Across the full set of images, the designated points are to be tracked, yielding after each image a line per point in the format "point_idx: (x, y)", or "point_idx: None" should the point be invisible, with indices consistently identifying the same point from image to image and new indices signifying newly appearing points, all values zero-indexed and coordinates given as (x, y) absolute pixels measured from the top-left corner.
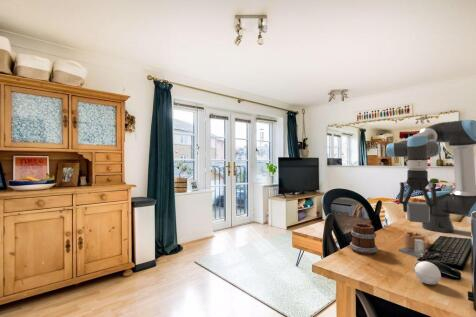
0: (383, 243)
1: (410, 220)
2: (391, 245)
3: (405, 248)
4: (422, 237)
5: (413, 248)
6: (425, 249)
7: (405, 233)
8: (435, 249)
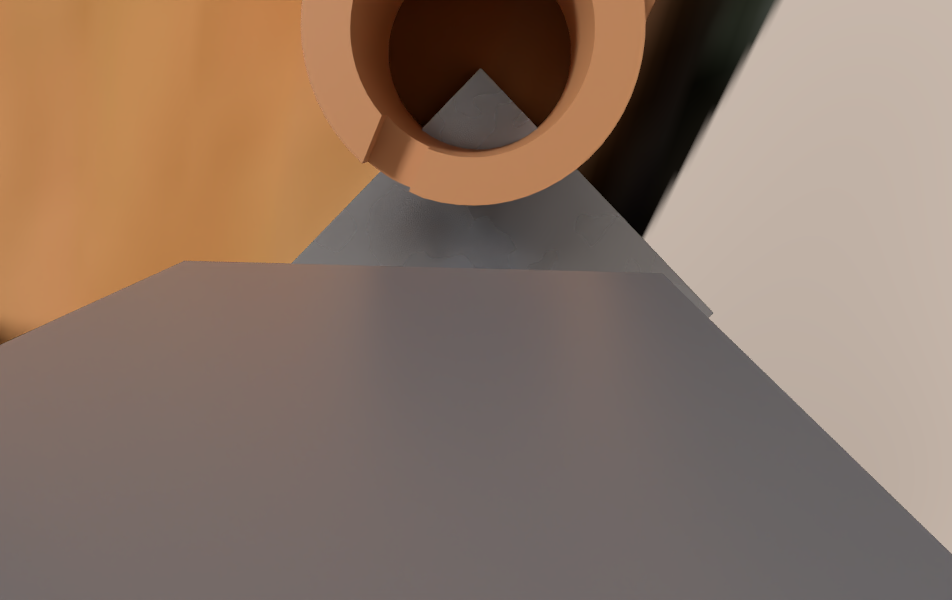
0: (88, 22)
1: None
2: (190, 80)
3: (332, 256)
4: (576, 165)
5: (437, 214)
6: (585, 197)
7: (327, 41)
8: (755, 27)
